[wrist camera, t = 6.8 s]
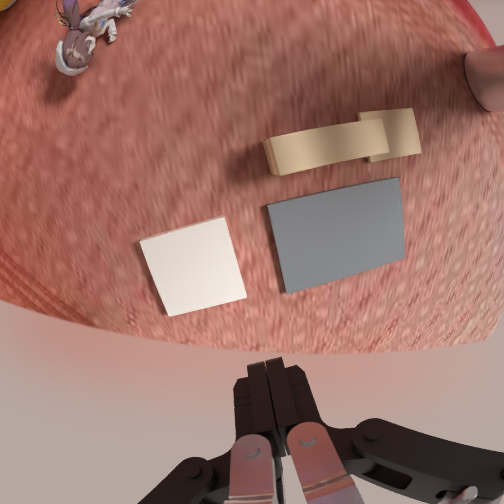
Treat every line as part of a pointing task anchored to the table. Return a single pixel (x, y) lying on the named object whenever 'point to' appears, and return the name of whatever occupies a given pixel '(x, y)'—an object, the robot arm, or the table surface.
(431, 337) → the table surface
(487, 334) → the table surface
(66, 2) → the figurine
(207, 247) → the tile
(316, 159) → the beige wooden bar
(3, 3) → the bowl
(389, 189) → the mat
